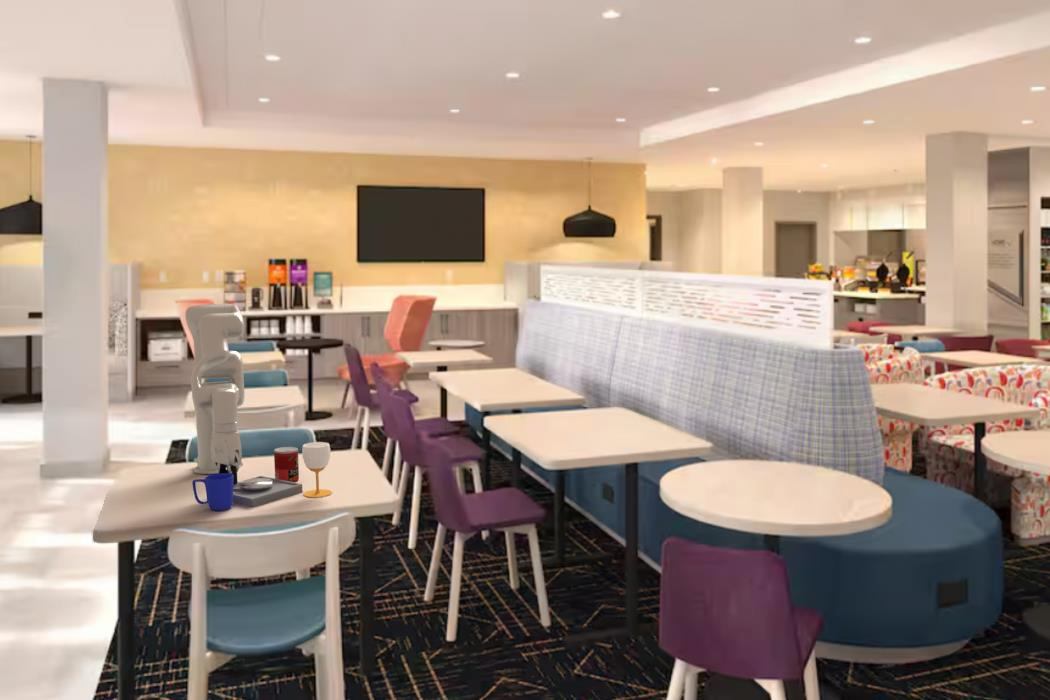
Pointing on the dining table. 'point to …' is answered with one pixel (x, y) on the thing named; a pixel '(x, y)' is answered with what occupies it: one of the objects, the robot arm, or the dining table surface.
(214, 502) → the mug
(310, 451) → the cup
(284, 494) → the tray
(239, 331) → the robot arm
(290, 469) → the canned food
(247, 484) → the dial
